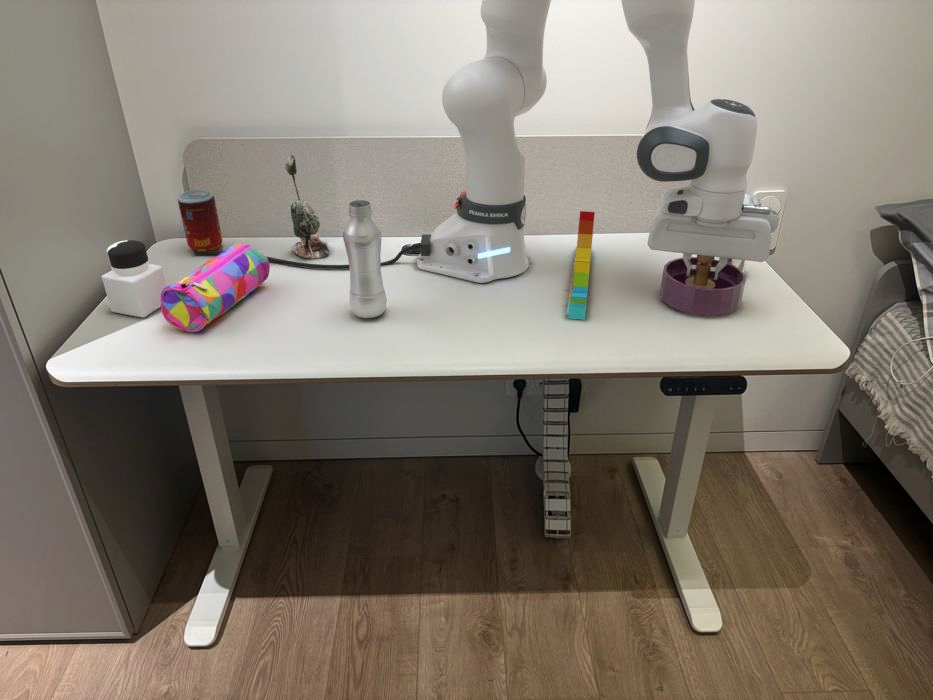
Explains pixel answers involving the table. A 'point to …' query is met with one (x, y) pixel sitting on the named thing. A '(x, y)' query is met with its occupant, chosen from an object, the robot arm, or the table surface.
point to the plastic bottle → (364, 261)
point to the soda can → (200, 220)
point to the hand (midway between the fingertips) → (701, 277)
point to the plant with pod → (305, 223)
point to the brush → (702, 273)
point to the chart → (581, 267)
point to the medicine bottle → (133, 280)
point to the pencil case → (214, 287)
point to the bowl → (702, 289)
